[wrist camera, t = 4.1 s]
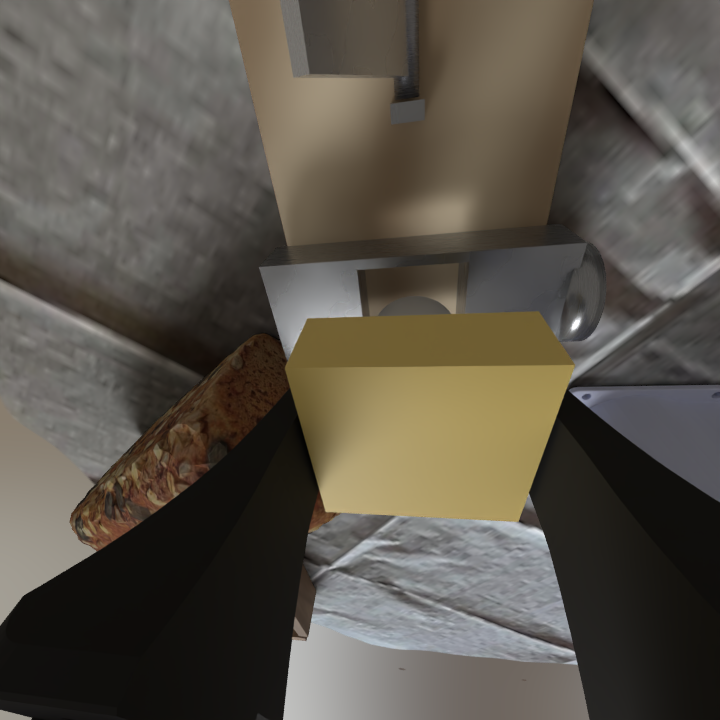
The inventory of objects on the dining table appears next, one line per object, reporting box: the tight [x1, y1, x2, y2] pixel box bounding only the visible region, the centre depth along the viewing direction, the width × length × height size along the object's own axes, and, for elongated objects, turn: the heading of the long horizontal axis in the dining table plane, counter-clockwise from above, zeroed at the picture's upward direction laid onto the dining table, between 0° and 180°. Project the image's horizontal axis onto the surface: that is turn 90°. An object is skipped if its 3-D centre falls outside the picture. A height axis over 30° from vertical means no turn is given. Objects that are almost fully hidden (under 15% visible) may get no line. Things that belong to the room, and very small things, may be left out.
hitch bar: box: [259, 99, 606, 362], centre depth 12 cm, size 13×16×5 cm
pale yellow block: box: [285, 296, 575, 522], centre depth 10 cm, size 5×5×6 cm
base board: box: [229, 0, 594, 316], centre depth 14 cm, size 12×17×1 cm
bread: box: [70, 333, 340, 551], centre depth 23 cm, size 19×11×10 cm, turn 132°
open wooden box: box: [292, 565, 316, 641], centre depth 42 cm, size 13×13×5 cm
